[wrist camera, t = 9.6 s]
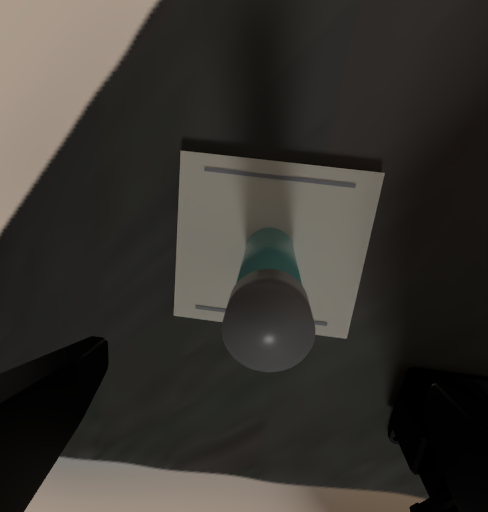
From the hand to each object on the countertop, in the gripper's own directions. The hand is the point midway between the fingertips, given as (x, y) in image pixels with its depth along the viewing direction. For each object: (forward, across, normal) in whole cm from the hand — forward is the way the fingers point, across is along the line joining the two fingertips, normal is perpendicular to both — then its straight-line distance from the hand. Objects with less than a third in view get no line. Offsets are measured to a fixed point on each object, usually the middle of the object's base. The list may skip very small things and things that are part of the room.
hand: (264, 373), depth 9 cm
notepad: (+13, 0, 0) cm, 13 cm away
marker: (+12, 0, 0) cm, 12 cm away
